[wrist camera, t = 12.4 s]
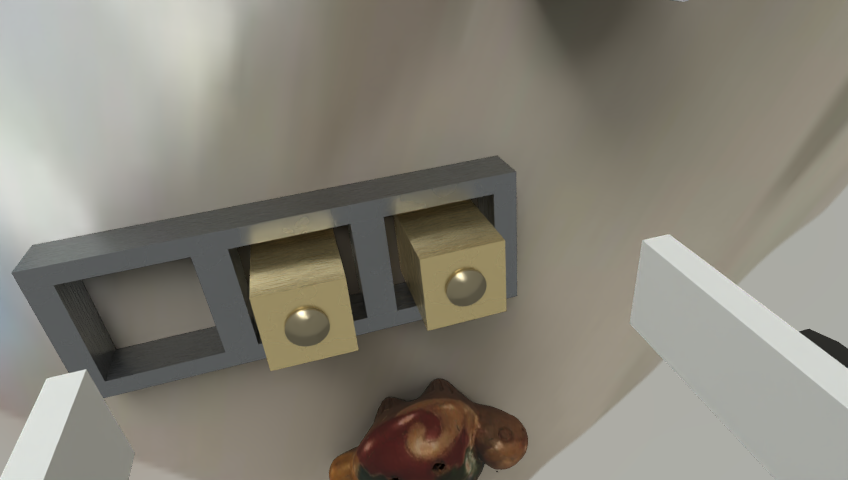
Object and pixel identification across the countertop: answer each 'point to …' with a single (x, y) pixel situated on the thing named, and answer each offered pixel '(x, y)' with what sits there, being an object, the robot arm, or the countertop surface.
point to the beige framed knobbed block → (452, 263)
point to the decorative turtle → (433, 440)
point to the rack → (224, 275)
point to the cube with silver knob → (301, 299)
